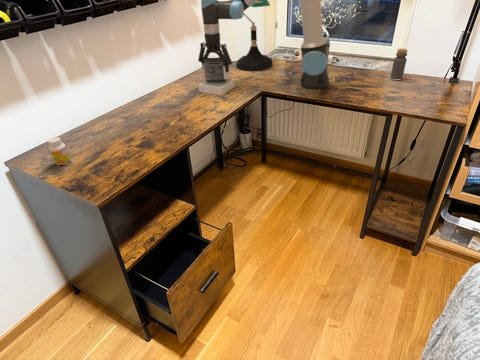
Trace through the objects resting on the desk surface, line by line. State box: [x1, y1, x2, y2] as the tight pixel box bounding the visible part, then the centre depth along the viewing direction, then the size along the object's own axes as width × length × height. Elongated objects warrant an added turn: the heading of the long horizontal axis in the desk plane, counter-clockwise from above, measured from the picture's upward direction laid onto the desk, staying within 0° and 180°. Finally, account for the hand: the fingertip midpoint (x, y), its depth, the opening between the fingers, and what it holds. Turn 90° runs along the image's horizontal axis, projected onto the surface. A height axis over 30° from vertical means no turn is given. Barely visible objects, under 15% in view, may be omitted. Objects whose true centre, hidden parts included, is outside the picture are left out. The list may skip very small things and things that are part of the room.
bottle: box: [390, 48, 409, 79], centre depth 172 cm, size 6×6×15 cm
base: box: [197, 77, 236, 96], centre depth 177 cm, size 14×14×4 cm
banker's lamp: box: [235, 0, 274, 72], centre depth 197 cm, size 26×23×40 cm
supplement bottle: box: [48, 136, 72, 166], centre depth 122 cm, size 5×5×10 cm
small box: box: [203, 57, 226, 81], centre depth 172 cm, size 11×6×10 cm, turn 84°
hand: (216, 76), depth 174 cm, fingers closed on small box, 12 cm apart
